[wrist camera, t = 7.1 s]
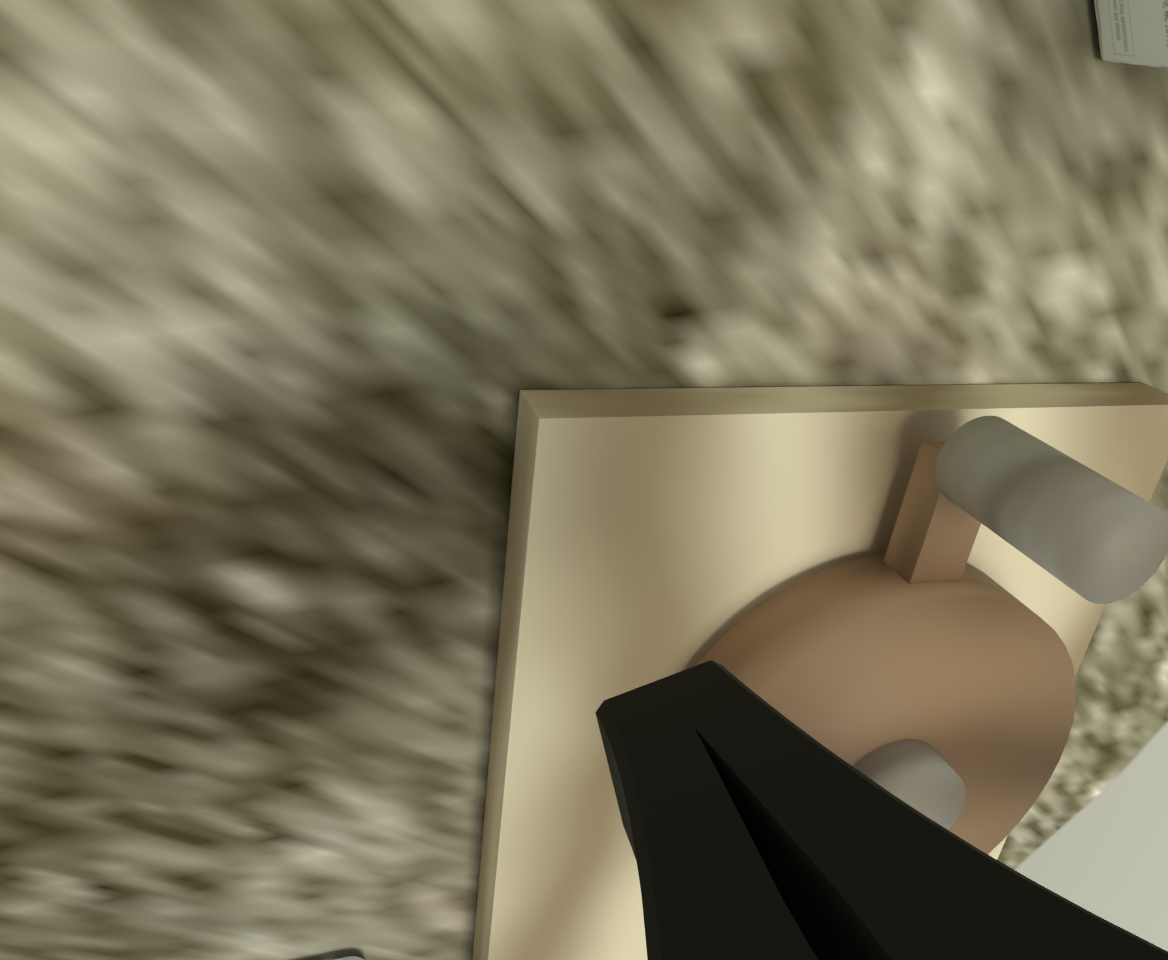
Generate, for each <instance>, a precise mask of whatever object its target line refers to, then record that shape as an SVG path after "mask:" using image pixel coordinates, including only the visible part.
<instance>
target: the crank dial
mask: <svg viewBox="0 0 1168 960" xmlns="http://www.w3.org/2000/svg"><path fill="white" fill-rule="evenodd" d="M981 523H982V524H983V525H984V526H986V527H987V528H989V529H990V530H991V531H993V532H994V533H995V534H997V535H998V536H999V537H1001V538H1002V539H1004V540H1005V541H1006V542H1008V543H1009V544H1010V545H1012V546H1013V547H1015V548H1016V549H1017V550H1019V551H1020V552H1021V553H1023V554H1024V555H1025V556H1027V557H1028V558H1030V559H1031V560H1032V561H1034V562H1035V563H1036V564H1038V565H1039V566H1041V567H1042V568H1043V569H1045V570H1046V571H1047V572H1049V573H1050V574H1051V575H1053V576H1054V577H1056V578H1057V579H1058V580H1060V581H1061V582H1062V583H1064V584H1065V585H1067V586H1068V587H1069V588H1071V589H1072V590H1073V591H1075V592H1076V593H1077V594H1079V595H1080V596H1082V597H1083V598H1084V599H1086V600H1087V601H1089V602H1092V603H1096V604H1106V603H1111V602H1115V601H1117V600H1120V599H1122V598H1124V597H1126V596H1128V595H1130V594H1131V593H1133V592H1134V591H1136V590H1137V589H1138V588H1140V587H1141V586H1142V585H1143V584H1144V583H1145V582H1146V581H1147V580H1148V579H1149V578H1150V577H1151V576H1152V575H1153V574H1154V573H1155V571H1156V570H1157V569H1158V567H1159V566H1160V565H1161V563H1162V561H1163V560H1164V558H1165V556H1166V554H1167V552H1168V515H1167V513H1166V512H1165V511H1163V510H1162V509H1160V508H1158V507H1157V506H1155V505H1153V504H1151V503H1150V502H1148V501H1146V500H1144V499H1143V498H1141V497H1139V496H1137V495H1136V494H1134V493H1132V492H1130V491H1129V490H1127V489H1125V488H1123V487H1122V486H1120V485H1118V484H1116V483H1115V482H1113V481H1111V480H1109V479H1108V478H1106V477H1104V476H1102V475H1101V474H1099V473H1097V472H1095V471H1094V470H1092V469H1090V468H1088V467H1087V466H1085V465H1083V464H1081V463H1080V462H1078V461H1076V460H1074V459H1073V458H1071V457H1069V456H1067V455H1066V454H1064V453H1062V452H1060V451H1059V450H1057V449H1055V448H1053V447H1052V446H1050V445H1048V444H1046V443H1045V442H1043V441H1041V440H1039V439H1038V438H1036V437H1034V436H1032V435H1031V434H1029V433H1027V432H1025V431H1024V430H1022V429H1020V428H1018V427H1017V426H1015V425H1013V424H1011V423H1010V422H1008V421H1006V420H1004V419H1002V418H1000V417H997V416H982V417H978V418H975V419H973V420H971V421H969V422H967V423H965V424H964V425H962V426H961V427H960V428H958V429H957V430H956V431H955V432H954V433H953V434H952V435H951V436H950V437H949V438H948V440H947V441H928V442H922V443H921V446H920V449H919V452H918V455H917V459H916V462H915V465H914V468H913V471H912V474H911V477H910V480H909V483H908V486H907V490H906V493H905V496H904V499H903V502H902V505H901V508H900V511H899V514H898V517H897V521H896V524H895V527H894V530H893V533H892V536H891V539H890V542H889V545H888V549H887V552H886V553H884V554H875V555H871V556H867V557H863V558H859V559H854V560H850V561H847V562H844V563H841V564H838V565H836V566H833V567H830V568H827V569H825V570H822V571H819V572H817V573H815V574H813V575H811V576H809V577H807V578H805V579H803V580H801V581H799V582H796V583H794V584H793V585H791V586H789V587H788V588H786V589H784V590H783V591H781V592H779V593H778V594H776V595H774V596H773V597H771V598H769V599H768V600H766V601H765V602H764V603H762V604H761V605H760V606H758V607H757V608H755V609H754V610H753V611H751V612H750V613H749V614H747V615H746V616H745V617H743V618H742V619H741V620H740V621H739V622H738V623H736V624H735V625H734V626H733V627H732V628H731V629H730V630H729V631H728V632H726V633H725V634H724V635H723V636H722V637H721V638H720V639H719V640H718V641H717V642H716V643H715V644H714V645H713V646H712V647H711V648H710V650H709V651H708V652H707V653H706V654H705V655H704V656H703V657H702V658H701V659H700V660H699V662H698V663H697V664H696V666H697V665H699V664H702V663H705V662H707V661H710V660H712V661H714V662H716V663H718V664H721V665H722V666H723V667H725V668H726V669H727V670H728V671H729V672H730V673H732V674H733V675H734V676H735V677H736V678H738V679H739V680H740V681H741V682H742V683H744V684H745V685H746V686H747V687H748V688H750V689H751V690H752V691H753V692H755V693H756V694H757V695H758V696H760V697H761V698H762V699H763V700H765V701H766V702H767V703H768V704H770V705H771V706H772V707H773V708H775V709H776V710H777V711H778V712H780V713H781V714H782V715H784V716H785V717H786V718H787V719H789V720H790V721H791V722H793V723H794V724H795V725H797V726H798V727H799V728H801V729H802V730H803V731H805V732H806V733H807V734H809V735H810V736H811V737H812V738H814V739H815V740H817V741H818V742H819V743H821V744H822V745H823V746H825V747H826V748H827V749H829V750H830V751H832V752H833V753H834V754H836V755H837V756H838V757H840V758H841V759H843V760H844V761H846V762H847V763H848V764H850V765H851V766H853V767H854V768H856V769H857V770H859V771H860V772H861V773H863V774H864V775H866V776H867V777H869V778H870V779H871V780H873V781H874V782H876V783H877V784H879V785H880V786H882V787H883V788H884V789H886V790H887V791H889V792H890V793H892V794H893V795H894V796H896V797H898V798H899V799H901V800H902V801H904V802H905V803H907V804H908V805H910V806H911V807H913V808H914V809H916V810H917V811H919V812H920V813H922V814H923V815H925V816H926V817H928V818H930V819H931V820H933V821H934V822H936V823H938V824H939V825H941V826H942V827H944V828H946V829H947V830H949V831H950V832H952V833H954V834H955V835H957V836H958V837H960V838H962V839H963V840H965V841H966V842H968V843H970V844H971V845H973V846H974V847H976V848H978V849H979V850H981V851H983V852H984V853H986V854H989V853H990V852H991V851H992V850H993V849H994V848H995V847H996V846H997V845H998V844H999V843H1000V842H1001V841H1003V839H1004V838H1005V837H1006V836H1007V835H1008V834H1009V833H1010V832H1011V831H1012V829H1013V828H1014V827H1015V826H1016V825H1017V824H1018V823H1019V822H1020V820H1021V819H1022V818H1023V817H1024V815H1025V814H1026V813H1027V811H1028V810H1029V809H1030V807H1031V806H1032V805H1033V804H1034V802H1035V801H1036V799H1037V798H1038V796H1039V795H1040V793H1041V792H1042V790H1043V789H1044V787H1045V785H1046V784H1047V782H1048V781H1049V779H1050V777H1051V775H1052V773H1053V771H1054V769H1055V767H1056V766H1057V764H1058V762H1059V760H1060V757H1061V755H1062V752H1063V750H1064V747H1065V745H1066V742H1067V740H1068V736H1069V733H1070V729H1071V725H1072V722H1073V717H1074V710H1075V703H1076V679H1075V674H1074V669H1073V664H1072V660H1071V658H1070V655H1069V653H1068V651H1067V648H1066V646H1065V644H1064V643H1063V641H1062V640H1061V638H1060V637H1059V636H1058V634H1057V633H1056V631H1055V630H1054V629H1053V628H1052V627H1051V626H1049V625H1048V624H1047V623H1046V622H1045V621H1044V620H1043V619H1042V618H1040V617H1039V616H1038V615H1037V614H1035V613H1034V612H1033V611H1032V610H1030V609H1029V608H1028V607H1027V606H1025V605H1024V604H1023V603H1022V602H1020V601H1019V600H1018V599H1017V598H1015V597H1014V596H1013V595H1012V594H1010V593H1009V592H1008V591H1007V590H1005V589H1004V588H1003V587H1001V586H1000V585H999V584H998V583H996V582H995V581H994V580H993V579H991V578H990V577H989V576H988V575H986V574H985V573H984V572H982V571H981V570H979V569H977V568H975V567H974V566H972V565H970V564H968V563H967V561H968V558H969V555H970V552H971V550H972V547H973V544H974V541H975V539H976V536H977V533H978V531H979V528H980V525H981Z"/></svg>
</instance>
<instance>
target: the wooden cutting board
mask: <svg viewBox="0 0 1168 960" xmlns="http://www.w3.org/2000/svg"><path fill="white" fill-rule="evenodd" d="M982 416H997V417H1000V418H1002V419H1004V420H1006V421H1008V422H1010V423H1011V424H1013V425H1015V426H1017V427H1018V428H1020V429H1022V430H1024V431H1025V432H1027V433H1029V434H1031V435H1032V436H1034V437H1036V438H1038V439H1039V440H1041V441H1043V442H1045V443H1046V444H1048V445H1050V446H1052V447H1053V448H1055V449H1057V450H1059V451H1060V452H1062V453H1064V454H1066V455H1067V456H1069V457H1071V458H1073V459H1074V460H1076V461H1078V462H1080V463H1081V464H1083V465H1085V466H1087V467H1088V468H1090V469H1092V470H1094V471H1095V472H1097V473H1099V474H1101V475H1102V476H1104V477H1106V478H1108V479H1109V480H1111V481H1113V482H1115V483H1116V484H1118V485H1120V486H1122V487H1123V488H1125V489H1127V490H1129V491H1130V492H1132V493H1134V494H1136V495H1137V496H1139V497H1141V498H1143V499H1144V500H1146V501H1148V502H1150V499H1151V497H1152V495H1153V492H1154V490H1155V488H1156V485H1157V483H1158V481H1159V478H1160V476H1161V474H1162V471H1163V469H1164V466H1165V464H1166V462H1167V459H1168V394H1167V393H1165V392H1162V391H1160V390H1158V389H1156V388H1153V387H1151V386H1149V385H1147V384H1144V383H1071V384H987V385H903V386H819V387H736V388H652V389H568V390H520V394H519V406H518V418H517V430H516V442H515V454H514V466H513V478H512V490H511V502H510V514H509V526H508V538H507V550H506V562H505V574H504V586H503V598H502V610H501V622H500V634H499V646H498V658H497V669H496V681H495V693H494V705H493V717H492V729H491V741H490V753H489V765H488V777H487V789H486V801H485V813H484V825H483V837H482V849H481V861H480V873H479V885H478V897H477V909H476V921H475V933H474V945H473V957H472V960H648V959H647V948H646V937H645V927H644V916H643V905H642V896H641V888H640V880H639V874H638V868H637V862H636V859H635V856H634V853H633V850H632V847H631V845H630V842H629V839H628V837H627V834H626V832H625V829H624V826H623V823H622V819H621V814H620V810H619V806H618V802H617V798H616V794H615V790H614V786H613V782H612V778H611V774H610V770H609V766H608V762H607V758H606V754H605V750H604V745H603V741H602V737H601V733H600V729H599V725H598V721H597V717H596V713H595V712H596V711H597V709H598V708H599V707H600V705H601V704H602V702H603V701H604V700H607V699H609V698H612V697H614V696H617V695H620V694H622V693H625V692H628V691H630V690H633V689H636V688H638V687H641V686H644V685H646V684H649V683H652V682H654V681H657V680H659V679H662V678H665V677H667V676H670V675H673V674H675V673H678V672H681V671H683V670H686V669H689V668H691V667H694V666H696V664H697V663H698V662H699V660H700V659H701V658H702V657H703V656H704V655H705V654H706V653H707V652H708V651H709V650H710V648H711V647H712V646H713V645H714V644H715V643H716V642H717V641H718V640H719V639H720V638H721V637H722V636H723V635H724V634H725V633H726V632H728V631H729V630H730V629H731V628H732V627H733V626H734V625H735V624H736V623H738V622H739V621H740V620H741V619H742V618H743V617H745V616H746V615H747V614H749V613H750V612H751V611H753V610H754V609H755V608H757V607H758V606H760V605H761V604H762V603H764V602H765V601H766V600H768V599H769V598H771V597H773V596H774V595H776V594H778V593H779V592H781V591H783V590H784V589H786V588H788V587H789V586H791V585H793V584H794V583H796V582H799V581H801V580H803V579H805V578H807V577H809V576H811V575H813V574H815V573H817V572H819V571H822V570H825V569H827V568H830V567H833V566H836V565H838V564H841V563H844V562H847V561H850V560H854V559H859V558H863V557H867V556H871V555H875V554H884V553H886V552H887V549H888V545H889V542H890V539H891V536H892V533H893V530H894V527H895V524H896V521H897V517H898V514H899V511H900V508H901V505H902V502H903V499H904V496H905V493H906V490H907V486H908V483H909V480H910V477H911V474H912V471H913V468H914V465H915V462H916V459H917V455H918V452H919V449H920V446H921V443H922V442H928V441H947V440H948V438H949V437H950V436H951V435H952V434H953V433H954V432H955V431H956V430H957V429H958V428H960V427H961V426H962V425H964V424H965V423H967V422H969V421H971V420H973V419H975V418H978V417H982ZM967 563H968V564H970V565H972V566H974V567H975V568H977V569H979V570H981V571H982V572H984V573H985V574H986V575H988V576H989V577H990V578H991V579H993V580H994V581H995V582H996V583H998V584H999V585H1000V586H1001V587H1003V588H1004V589H1005V590H1007V591H1008V592H1009V593H1010V594H1012V595H1013V596H1014V597H1015V598H1017V599H1018V600H1019V601H1020V602H1022V603H1023V604H1024V605H1025V606H1027V607H1028V608H1029V609H1030V610H1032V611H1033V612H1034V613H1035V614H1037V615H1038V616H1039V617H1040V618H1042V619H1043V620H1044V621H1045V622H1046V623H1047V624H1048V625H1049V626H1051V627H1052V628H1053V629H1054V630H1055V631H1056V633H1057V634H1058V636H1059V637H1060V638H1061V640H1062V641H1063V643H1064V644H1065V646H1066V648H1067V651H1068V653H1069V655H1070V658H1071V660H1072V664H1073V669H1074V674H1075V676H1076V673H1077V671H1078V668H1079V666H1080V664H1081V661H1082V659H1083V657H1084V654H1085V652H1086V650H1087V647H1088V645H1089V643H1090V640H1091V638H1092V636H1093V633H1094V631H1095V629H1096V626H1097V624H1098V621H1099V619H1100V617H1101V614H1102V612H1103V610H1104V607H1105V605H1106V604H1096V603H1092V602H1089V601H1087V600H1086V599H1084V598H1083V597H1082V596H1080V595H1079V594H1077V593H1076V592H1075V591H1073V590H1072V589H1071V588H1069V587H1068V586H1067V585H1065V584H1064V583H1062V582H1061V581H1060V580H1058V579H1057V578H1056V577H1054V576H1053V575H1051V574H1050V573H1049V572H1047V571H1046V570H1045V569H1043V568H1042V567H1041V566H1039V565H1038V564H1036V563H1035V562H1034V561H1032V560H1031V559H1030V558H1028V557H1027V556H1025V555H1024V554H1023V553H1021V552H1020V551H1019V550H1017V549H1016V548H1015V547H1013V546H1012V545H1010V544H1009V543H1008V542H1006V541H1005V540H1004V539H1002V538H1001V537H999V536H998V535H997V534H995V533H994V532H993V531H991V530H990V529H989V528H987V527H986V526H984V525H983V524H982V523H981V525H980V528H979V531H978V533H977V536H976V539H975V541H974V544H973V547H972V550H971V552H970V555H969V558H968V561H967ZM1006 838H1007V836H1006V837H1005V838H1004V839H1003V841H1001V842H1000V843H999V844H998V845H997V846H996V847H995V848H994V849H993V850H992V851H991V852H990V853H989V854H988V855H989V856H991V857H993V858H994V859H996V860H997V859H998V856H999V854H1000V852H1001V849H1002V847H1003V845H1004V842H1005V840H1006Z"/></svg>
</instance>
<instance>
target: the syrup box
mask: <svg viewBox="0 0 1168 960" xmlns="http://www.w3.org/2000/svg"><path fill="white" fill-rule="evenodd" d="M1094 4H1095V12H1096V19H1097V26H1098V34H1099V44H1100V52H1101V58H1102V59H1103V60H1104V61H1106V62H1113V63H1121V64H1131V65H1138V66H1151V67H1157V68H1168V0H1094Z"/></svg>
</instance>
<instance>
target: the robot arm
mask: <svg viewBox="0 0 1168 960" xmlns="http://www.w3.org/2000/svg"><path fill="white" fill-rule="evenodd" d="M595 713H596V717H597V721H598V725H599V729H600V733H601V737H602V741H603V745H604V750H605V754H606V758H607V762H608V766H609V770H610V774H611V778H612V782H613V786H614V790H615V794H616V798H617V802H618V806H619V810H620V814H621V819H622V823H623V826H624V829H625V832H626V834H627V837H628V839H629V842H630V845H631V847H632V850H633V853H634V856H635V859H636V862H637V868H638V874H639V880H640V888H641V896H642V905H643V916H644V927H645V937H646V948H647V959H648V960H1168V952H1167V951H1165V950H1163V949H1161V948H1159V947H1157V946H1155V945H1154V944H1151V943H1149V942H1148V941H1146V940H1144V939H1142V938H1140V937H1138V936H1136V935H1134V934H1132V933H1130V932H1128V931H1126V930H1124V929H1122V928H1120V927H1118V926H1116V925H1114V924H1112V923H1110V922H1108V921H1106V920H1104V919H1102V918H1100V917H1098V916H1096V915H1095V914H1093V913H1091V912H1089V911H1087V910H1085V909H1083V908H1082V907H1080V906H1078V905H1076V904H1074V903H1072V902H1071V901H1069V900H1067V899H1065V898H1063V897H1061V896H1059V895H1057V894H1056V893H1054V892H1052V891H1050V890H1049V889H1047V888H1045V887H1043V886H1041V885H1039V884H1037V883H1036V882H1034V881H1032V880H1030V879H1029V878H1027V877H1025V876H1024V875H1021V874H1020V873H1018V872H1017V871H1015V870H1013V869H1011V868H1010V867H1008V866H1006V865H1005V864H1003V863H1001V862H999V861H998V860H996V859H994V858H993V857H991V856H989V855H988V854H986V853H984V852H983V851H981V850H979V849H978V848H976V847H974V846H973V845H971V844H970V843H968V842H966V841H965V840H963V839H962V838H960V837H958V836H957V835H955V834H954V833H952V832H950V831H949V830H947V829H946V828H944V827H942V826H941V825H939V824H938V823H936V822H934V821H933V820H931V819H930V818H928V817H926V816H925V815H923V814H922V813H920V812H919V811H917V810H916V809H914V808H913V807H911V806H910V805H908V804H907V803H905V802H904V801H902V800H901V799H899V798H898V797H896V796H894V795H893V794H892V793H890V792H889V791H887V790H886V789H884V788H883V787H882V786H880V785H879V784H877V783H876V782H874V781H873V780H871V779H870V778H869V777H867V776H866V775H864V774H863V773H861V772H860V771H859V770H857V769H856V768H854V767H853V766H851V765H850V764H848V763H847V762H846V761H844V760H843V759H841V758H840V757H838V756H837V755H836V754H834V753H833V752H832V751H830V750H829V749H827V748H826V747H825V746H823V745H822V744H821V743H819V742H818V741H817V740H815V739H814V738H812V737H811V736H810V735H809V734H807V733H806V732H805V731H803V730H802V729H801V728H799V727H798V726H797V725H795V724H794V723H793V722H791V721H790V720H789V719H787V718H786V717H785V716H784V715H782V714H781V713H780V712H778V711H777V710H776V709H775V708H773V707H772V706H771V705H770V704H768V703H767V702H766V701H765V700H763V699H762V698H761V697H760V696H758V695H757V694H756V693H755V692H753V691H752V690H751V689H750V688H748V687H747V686H746V685H745V684H744V683H742V682H741V681H740V680H739V679H738V678H736V677H735V676H734V675H733V674H732V673H730V672H729V671H728V670H727V669H726V668H725V667H723V666H722V665H721V664H718V663H716V662H714V661H712V660H710V661H707V662H705V663H702V664H699V665H697V666H694V667H691V668H689V669H686V670H683V671H681V672H678V673H675V674H673V675H670V676H667V677H665V678H662V679H659V680H657V681H654V682H652V683H649V684H646V685H644V686H641V687H638V688H636V689H633V690H630V691H628V692H625V693H622V694H620V695H617V696H614V697H612V698H609V699H607V700H604V701H603V702H602V704H601V705H600V707H599V708H598V709H597V711H596V712H595ZM333 960H364V959H362V958H360V957H356V956H349V957H343V958H338V959H333Z"/></svg>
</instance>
